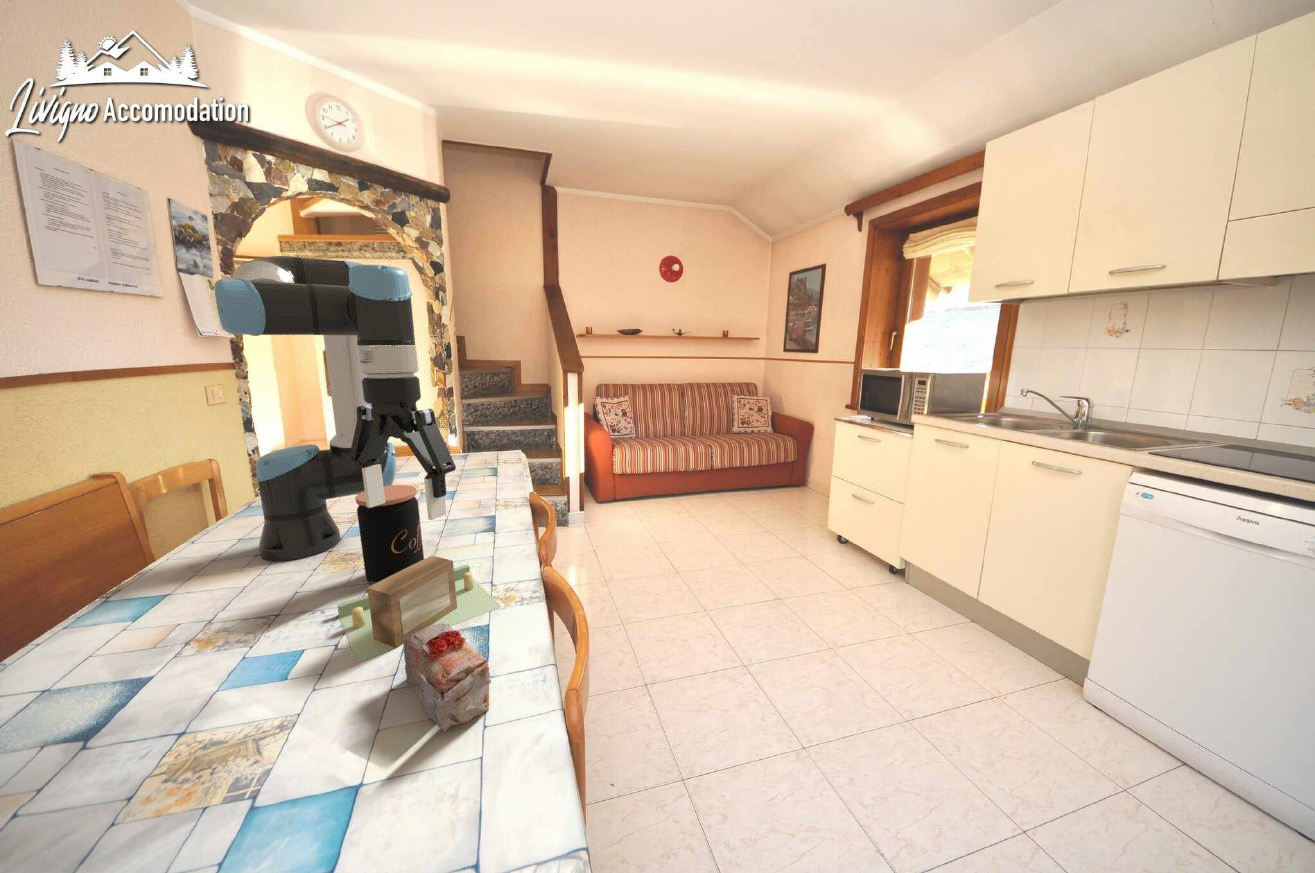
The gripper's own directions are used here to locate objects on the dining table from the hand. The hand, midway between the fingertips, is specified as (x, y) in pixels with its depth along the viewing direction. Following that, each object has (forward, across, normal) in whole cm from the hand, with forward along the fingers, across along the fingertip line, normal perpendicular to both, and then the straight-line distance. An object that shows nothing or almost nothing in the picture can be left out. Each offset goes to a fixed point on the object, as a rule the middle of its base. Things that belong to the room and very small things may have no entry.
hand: (405, 510), depth 74 cm
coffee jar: (+21, -20, +12) cm, 32 cm away
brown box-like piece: (+20, 0, 0) cm, 20 cm away
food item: (+22, +16, -9) cm, 29 cm away
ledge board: (+21, -3, +3) cm, 22 cm away
